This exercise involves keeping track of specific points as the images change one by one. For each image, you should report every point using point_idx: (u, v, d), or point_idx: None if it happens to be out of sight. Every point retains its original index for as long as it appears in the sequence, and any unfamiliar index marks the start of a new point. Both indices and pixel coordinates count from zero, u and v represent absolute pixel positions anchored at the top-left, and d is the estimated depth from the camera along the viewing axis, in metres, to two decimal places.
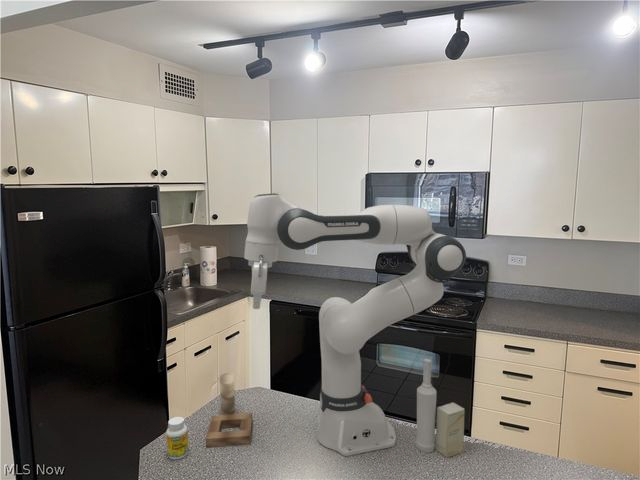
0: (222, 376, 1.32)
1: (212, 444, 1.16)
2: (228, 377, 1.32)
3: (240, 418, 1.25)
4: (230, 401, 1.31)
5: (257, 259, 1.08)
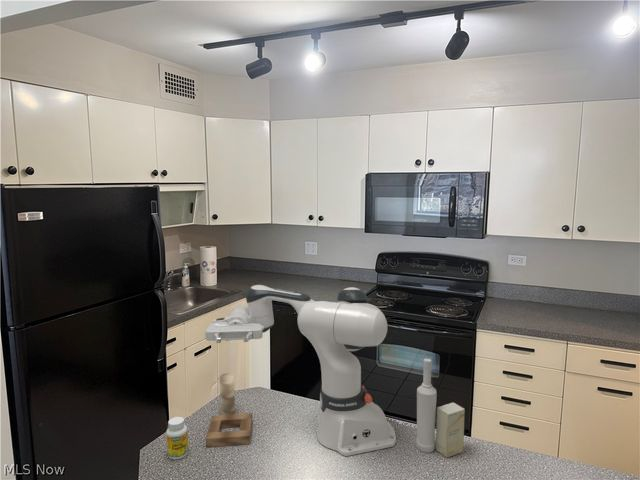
0: (222, 376, 1.32)
1: (212, 444, 1.16)
2: (227, 377, 1.32)
3: (240, 418, 1.25)
4: (230, 401, 1.31)
5: None
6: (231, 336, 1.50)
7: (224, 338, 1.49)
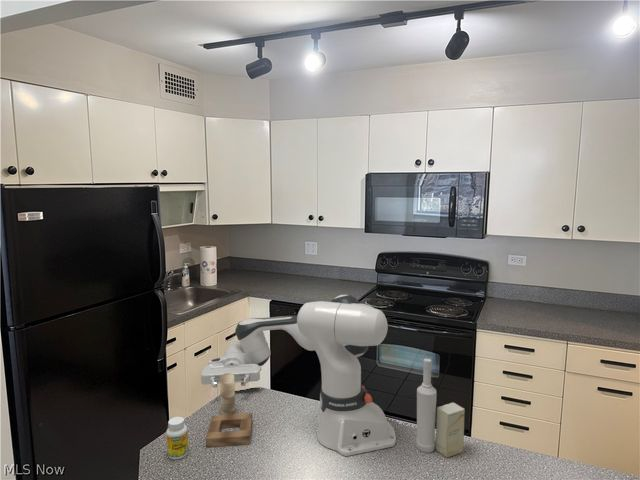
0: (223, 375, 1.33)
1: (212, 444, 1.16)
2: (228, 377, 1.32)
3: (240, 418, 1.25)
4: (230, 401, 1.31)
5: None
6: None
7: None
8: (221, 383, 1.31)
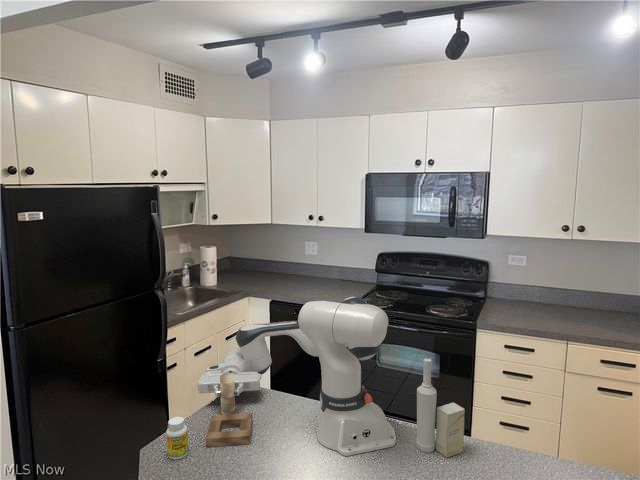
0: (222, 375, 1.33)
1: (212, 444, 1.16)
2: (228, 376, 1.32)
3: (240, 418, 1.25)
4: (230, 401, 1.31)
5: None
6: None
7: None
8: (221, 383, 1.31)
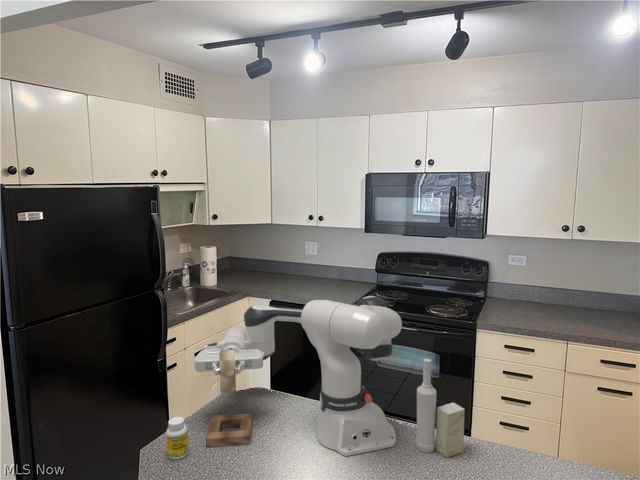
0: (222, 352, 1.20)
1: (212, 444, 1.16)
2: (228, 352, 1.19)
3: (240, 418, 1.25)
4: (231, 380, 1.19)
5: None
6: None
7: None
8: (220, 360, 1.19)
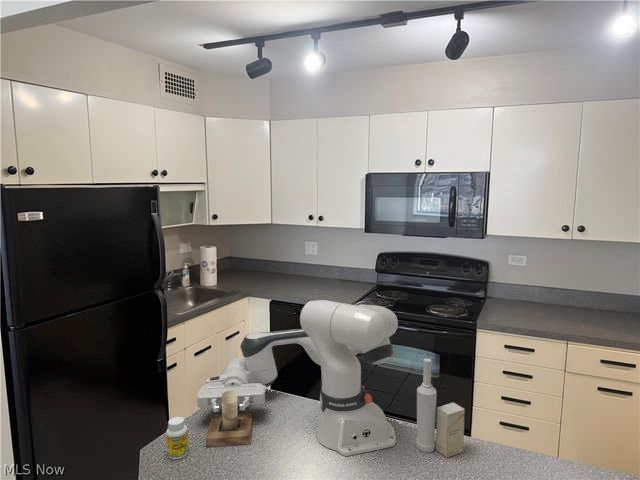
0: (225, 394, 1.21)
1: (212, 444, 1.16)
2: (230, 395, 1.20)
3: (240, 418, 1.25)
4: (233, 422, 1.20)
5: None
6: None
7: (219, 404, 1.25)
8: (223, 402, 1.19)
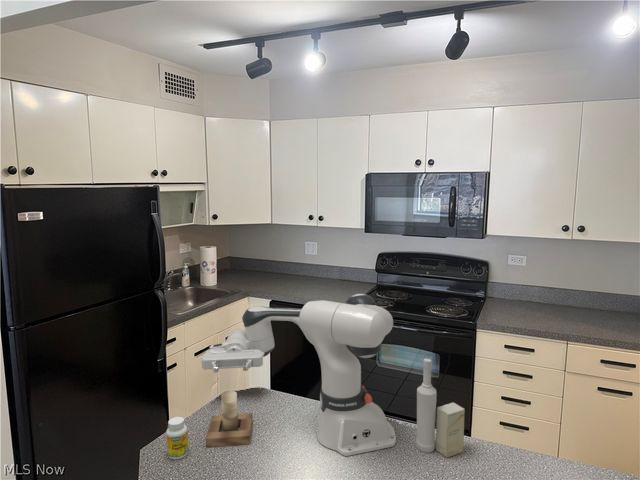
0: (224, 394, 1.21)
1: (212, 444, 1.16)
2: (230, 395, 1.20)
3: (240, 418, 1.25)
4: (233, 422, 1.20)
5: None
6: (229, 364, 1.40)
7: (222, 366, 1.39)
8: (223, 402, 1.19)
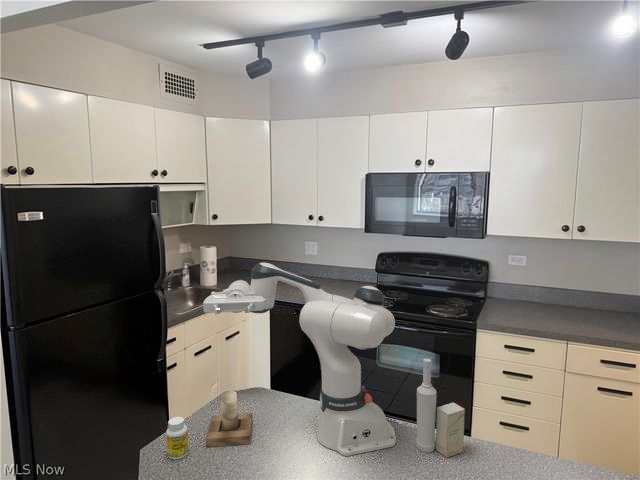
0: (224, 394, 1.21)
1: (212, 444, 1.16)
2: (230, 395, 1.20)
3: (240, 418, 1.25)
4: (233, 422, 1.20)
5: None
6: (231, 308, 1.39)
7: (223, 310, 1.39)
8: (222, 402, 1.19)
